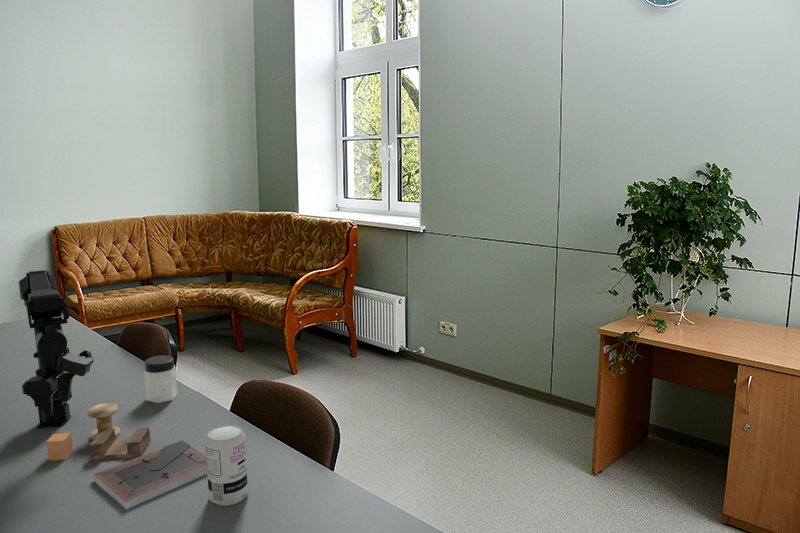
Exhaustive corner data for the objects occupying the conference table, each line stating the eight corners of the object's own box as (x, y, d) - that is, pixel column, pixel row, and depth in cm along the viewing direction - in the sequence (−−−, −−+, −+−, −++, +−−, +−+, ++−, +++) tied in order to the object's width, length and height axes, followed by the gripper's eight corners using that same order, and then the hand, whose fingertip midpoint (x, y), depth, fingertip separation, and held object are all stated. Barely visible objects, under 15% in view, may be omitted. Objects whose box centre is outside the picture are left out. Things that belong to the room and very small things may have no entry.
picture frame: (182, 448, 153) (94, 483, 137) (181, 439, 153) (92, 473, 137) (218, 471, 142) (126, 511, 127) (217, 461, 142) (125, 500, 126)
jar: (149, 405, 178) (146, 366, 175) (143, 396, 184) (140, 358, 182) (180, 398, 183) (178, 360, 180) (174, 389, 189) (171, 353, 187)
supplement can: (213, 487, 135) (209, 424, 132) (251, 485, 135) (247, 422, 132) (205, 508, 127) (200, 442, 124) (245, 506, 127) (241, 440, 124)
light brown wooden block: (48, 460, 147) (46, 441, 146) (56, 452, 150) (53, 433, 149) (66, 459, 147) (63, 440, 146) (73, 451, 151) (70, 432, 150)
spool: (86, 442, 155) (83, 415, 154) (96, 430, 162) (94, 403, 161) (114, 440, 156) (112, 413, 155) (124, 428, 163) (121, 402, 162)
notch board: (91, 459, 147) (89, 444, 146) (103, 444, 154) (102, 429, 154) (140, 457, 148) (139, 441, 147) (150, 441, 156) (149, 427, 155)
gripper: (70, 356, 136) (77, 421, 138) (100, 333, 154) (106, 392, 157) (17, 359, 134) (25, 425, 137) (53, 336, 153) (60, 395, 155)
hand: (57, 408), depth 147 cm, fingers open, 9 cm apart
